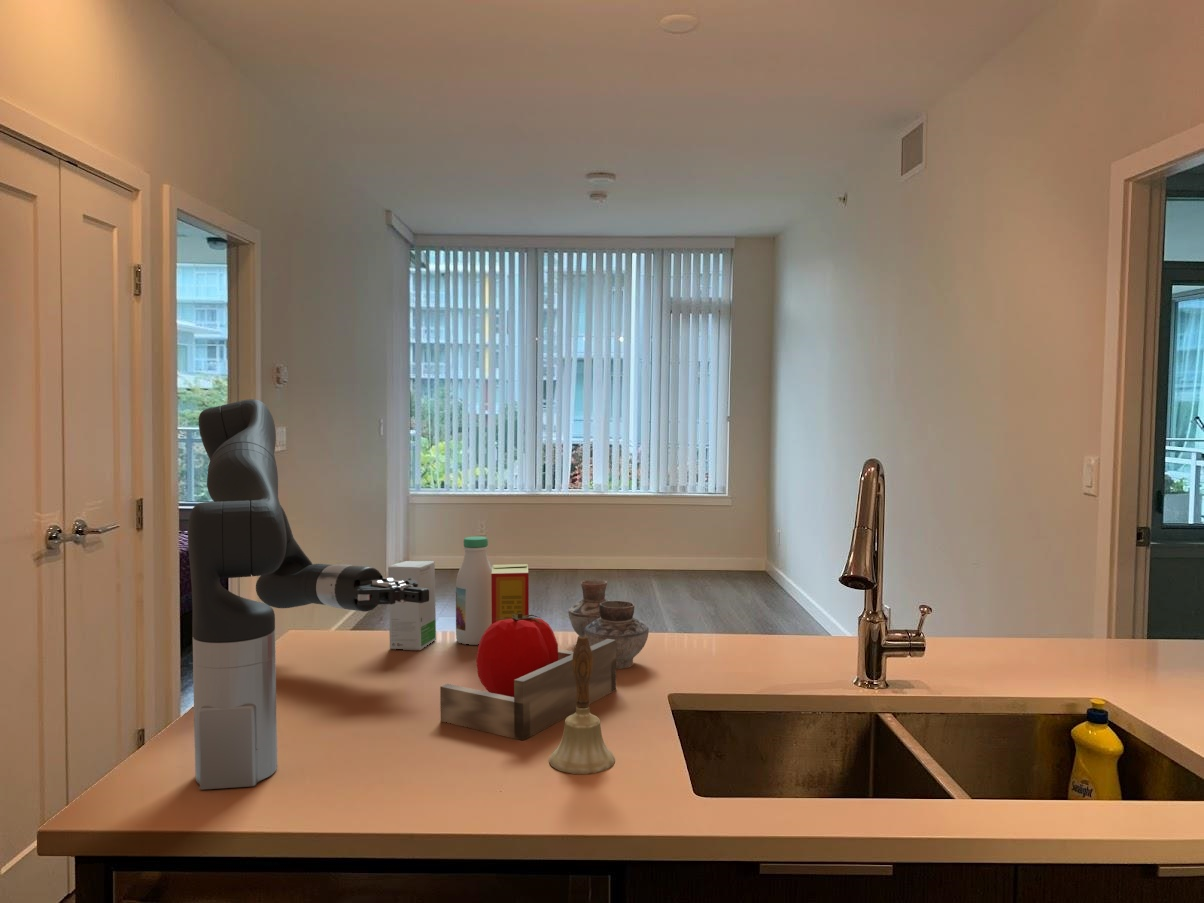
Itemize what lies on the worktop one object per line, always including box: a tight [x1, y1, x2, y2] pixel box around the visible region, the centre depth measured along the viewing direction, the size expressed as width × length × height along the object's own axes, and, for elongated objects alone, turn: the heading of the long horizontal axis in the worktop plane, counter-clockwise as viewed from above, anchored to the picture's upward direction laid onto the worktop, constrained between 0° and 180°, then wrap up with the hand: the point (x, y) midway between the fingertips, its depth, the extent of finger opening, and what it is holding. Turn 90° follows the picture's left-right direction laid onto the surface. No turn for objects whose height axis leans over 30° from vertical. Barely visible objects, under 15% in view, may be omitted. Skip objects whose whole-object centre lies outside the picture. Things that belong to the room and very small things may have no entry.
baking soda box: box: [491, 563, 530, 624], centre depth 159 cm, size 10×6×16 cm
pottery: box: [567, 578, 650, 670], centre depth 159 cm, size 11×25×12 cm, turn 17°
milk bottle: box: [455, 536, 492, 646], centre depth 168 cm, size 8×8×20 cm
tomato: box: [476, 613, 559, 697], centre depth 133 cm, size 13×13×13 cm
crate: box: [439, 639, 617, 741], centre depth 131 cm, size 14×25×8 cm, turn 149°
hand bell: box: [548, 635, 616, 775], centre depth 110 cm, size 8×8×16 cm
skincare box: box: [387, 560, 437, 651], centre depth 165 cm, size 8×7×16 cm
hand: (426, 595), depth 141 cm, fingers closed
